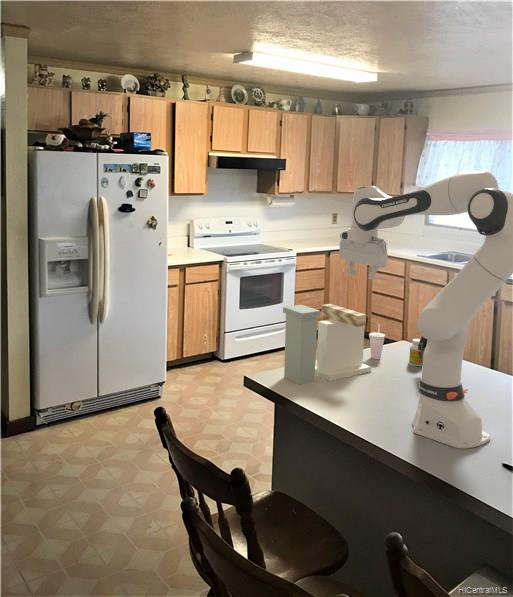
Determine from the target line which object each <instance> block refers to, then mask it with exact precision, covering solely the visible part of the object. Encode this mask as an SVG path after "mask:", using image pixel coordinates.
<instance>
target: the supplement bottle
mask: <svg viewBox="0 0 513 597" xmlns="http://www.w3.org/2000/svg"><path fill="white" fill-rule="evenodd" d="M420 339H421V338H413V339H412V342H411V343H412V344H411V345H410V346H409V357H408V363H409V365H411V366H414V367H422V363H421V360H420V358H419V353H418V344H419V341H420Z"/></svg>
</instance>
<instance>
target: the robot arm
mask: <svg viewBox="0 0 513 597" xmlns="http://www.w3.org/2000/svg"><path fill="white" fill-rule="evenodd" d="M496 178H497V177H495V175H493V174H492V173H491V172H490V171H486V170H479V171H470V172H464V173H460V174H456V175H451V176H448V177H446V178H443V179H441V180H438V181H435V182H433V183H431V184H428V185H426V186H424V187H422V188H419V189H415V190H414V191H411V192H408V193H404V194H401V195H397V196H390V195H388V194H386V193H384V192H383V191H382V190H381V189H380V188H379V187H378V186H376V185H368V186H361V187H358V188H357V189H355V190H354V193H353V197H352V203H351V216H352V217H351V218H352V221H351V224H350V225H351V226H350V229H349V230H345V231H342V232H341V233H340V234H339V236H340V237H339V238H340V239H341V240H340V242H339V250H338V251H339V254H338V255H339V258H340V260H341V261H346V262H347V263H346V265H347V267H348V270H349V272H348V275H351V276H356V274H357V269H355V263H356V264H360V265H366V266H370V270H371V271H370V273H367V274H368V276H367V279H369V280H375V279H376V274H377V272H378V271H379V268H385V267H386V266H387V265H388V263H389V262H388V259H389V258H388V248H387V245H388V244H387V242H386V241H385V239H384V238H380V237H378V232H379V230H382V229H392V228H396V227H399V226H400V225H401V224H402V223H403V222H404V220H405V217H407V216H412V215H413V216H414V215H416V216H417V215H421V216H423V215H427V216H455V215H462V214H464V213H467V215H468V217H469V219H470V220H471V222H472V223H473V225H474V226H475V227H476V230H477V233H479V235H482V236H485V239H484V242H483V243H482V245H481V246H480V247H479V248H478V249H477V250H476V252H475V253H474V254H473V255H472V256H471V257H470V258H469V259H468V260H467V262H466V263H465V265H463V267H462V268H461V269H460V270H459V271H458V273H457V274H455V276H454V277H453V278H452V279H451V280H450V281H448V283H447V284H446V285H445V286H444V287H443V288H442V289H440V291H439V292H437V294H436V295H435V296H434V297H433V298H432V299H431V300H430V302H428V303H427V305H426V306H425V307H424V308H423V309H422V310H421V312H420V313H419V314H418V318H417V321H416V324H417V330H418V332H419V333H420V335H421V337H422V336H423V337H424V338H426V339H427V345H426V348H425V351H424V354H423V364H422V366H421V378H420V379H419V384H418V392H419V398H418V403H417V408H416V413H415V415H414V419H413V420H412V426H413V431H412V432H413V433H414V434H417V435H420V436H423V437H424V438H427V439H430V440H431V439H432V441H433V440H434V441H436V442H439V443H441V444H445V445H448V446H450V447H453V448H456V449H471V448H477V447H480V446H482V445H485V444H486V443H488V442H489V441H490V438H491V436H490V434H489V433H488V432H486V431H484V430H483V422H482V417H481V415H480V414H479V413H478V412H477V411H476V410H475V408H474V407H473V406H472V405H471V404H470V403H469V401H468V400H467V399H466V398H465V394H467V393H469V392H468V390H469V389H468V388H466V389H464V388H463V385H462V382H461V379H462V369H463V368H462V367H463V358H464V354H465V348H466V346H467V342H468V341H467V340H468V335H469V330H470V325H471V321H472V318H473V316H474V315H475V314H476V313H477V312H478V311H479V310H481V308H483V306H485V305H486V303H488V301H490V300H491V298H492V297H494V295H495V294H496V293H497V292H498V290H499V289H501V287H502V286H503V285H504V284H505V283H506V282H507V281H508V280H509V278H510V277H512V275H513V193H511V192H507V191H505V190H500V189H499V184H498V180H497V179H496Z"/></svg>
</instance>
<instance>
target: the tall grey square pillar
mask: <svg viewBox="0 0 513 597" xmlns="http://www.w3.org/2000/svg"><path fill="white" fill-rule="evenodd" d="M282 310H283V311H282V312H283V313H284V314H285V330H284V332H285V335H284V337H285V338H284V339H285V340H284V367H283V368H284V372H283V373H284V375H283V376H284V377H283V378H284V379H286V380H289V381H290V382H293V383H294V384H297V385H303V384H309V383H312V382H315V381H316V375H315V365H316V364H317V337H318V317H319V318H320V317H321V310H319V309H316V308H312V307H311V306H310V307H309V306H308V305H304V304H296V305H289V306H283V307H282Z"/></svg>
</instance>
